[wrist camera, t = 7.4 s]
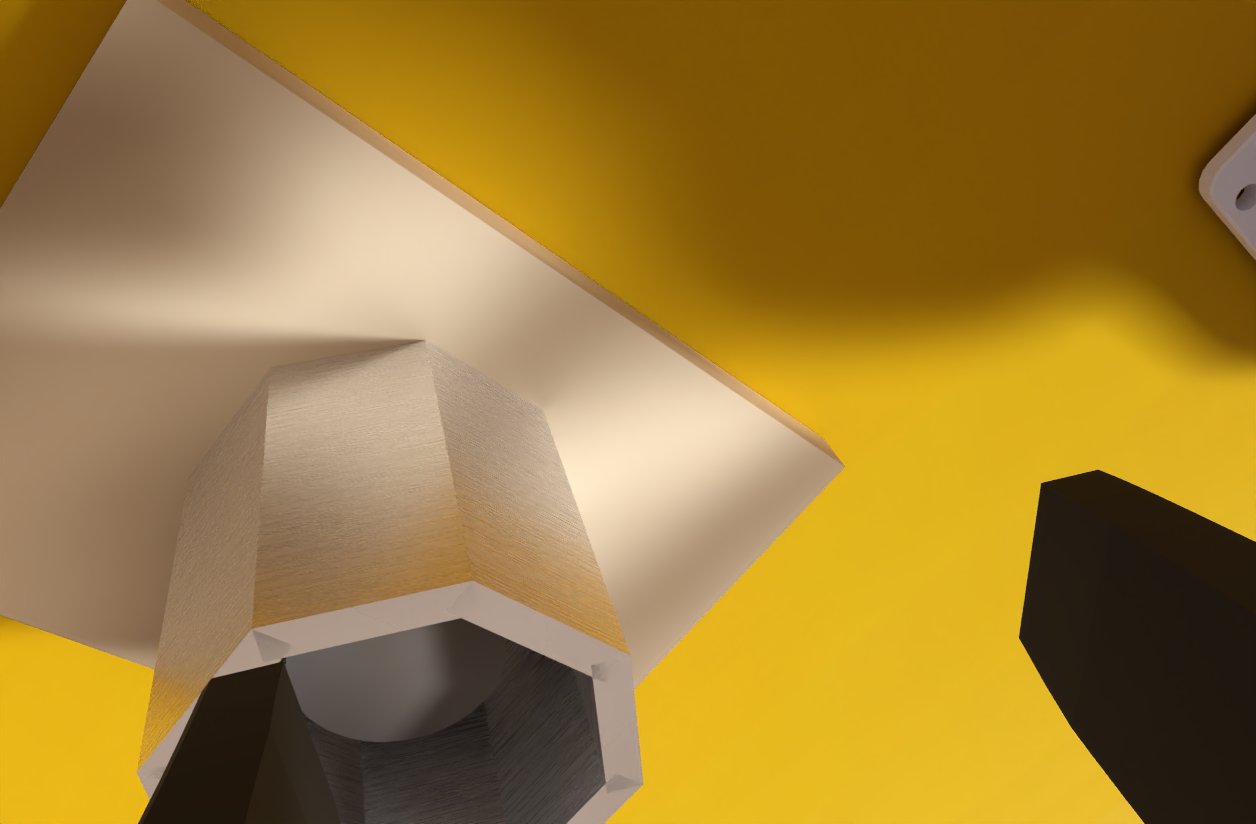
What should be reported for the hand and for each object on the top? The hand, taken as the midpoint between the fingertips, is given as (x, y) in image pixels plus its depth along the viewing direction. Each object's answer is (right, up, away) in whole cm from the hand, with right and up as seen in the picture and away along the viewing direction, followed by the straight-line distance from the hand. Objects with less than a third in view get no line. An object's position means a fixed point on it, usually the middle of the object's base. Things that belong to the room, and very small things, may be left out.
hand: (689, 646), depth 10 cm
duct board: (-5, +1, +9) cm, 10 cm away
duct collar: (-5, +1, +8) cm, 10 cm away
